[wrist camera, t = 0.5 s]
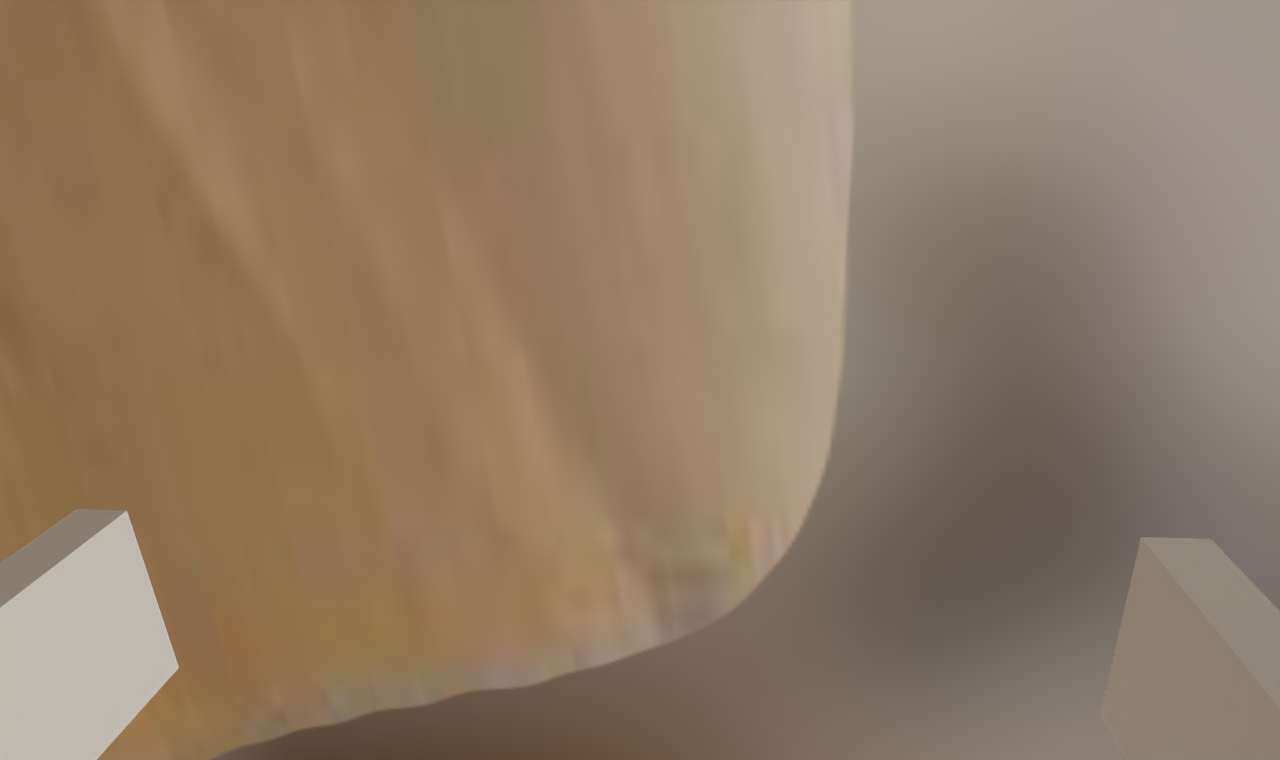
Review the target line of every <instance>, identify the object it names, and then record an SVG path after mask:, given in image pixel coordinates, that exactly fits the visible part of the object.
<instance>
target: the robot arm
mask: <svg viewBox="0 0 1280 760" xmlns="http://www.w3.org/2000/svg"><path fill="white" fill-rule="evenodd" d="M178 668H179V666H178V663H177V660H176V657H175V654H174V651H173V648H172V645H171V642H170V639H169V636H168V633H167V630H166V627H165V624H164V621H163V618H162V615H161V612H160V609H159V606H158V603H157V600H156V597H155V594H154V591H153V588H152V585H151V582H150V579H149V576H148V573H147V570H146V567H145V564H144V561H143V558H142V555H141V552H140V549H139V546H138V543H137V540H136V537H135V534H134V531H133V528H132V525H131V522H130V519H129V516H128V513H127V511H117V510H79V509H76V510H75V511H73V512H72V513H71V514H69V515H68V516H66V517H65V518H63V519H62V520H61V521H59V522H58V523H56V524H55V525H54V526H52V527H51V528H49V529H48V530H46V531H45V532H44V533H42V534H41V535H39V536H38V537H37V538H35V539H34V540H32V541H31V542H29V543H28V544H27V545H25V546H24V547H22V548H21V549H20V550H18V551H17V552H15V553H14V554H12V555H11V556H10V557H8V558H7V559H5V560H4V561H3V562H1V563H0V760H97V759H98V757H99V756H100V755H101V754H102V753H103V752H104V751H105V750H106V749H107V747H108V746H109V745H110V744H111V743H112V742H113V741H114V740H115V738H116V737H117V736H118V735H119V734H120V733H121V732H122V731H123V730H124V728H125V727H126V726H127V725H128V724H129V723H130V722H131V721H132V719H133V718H134V717H135V716H136V715H137V714H138V713H139V712H140V711H141V709H142V708H143V707H144V706H145V705H146V704H147V703H148V702H149V700H150V699H151V698H152V697H153V696H154V695H155V694H156V693H157V692H158V690H159V689H160V688H161V687H162V686H163V685H164V684H165V683H166V681H167V680H168V679H169V678H170V677H171V676H172V675H173V674H174V673H175V671H176V670H177V669H178ZM1100 715H1101V717H1102V719H1103V721H1104V723H1105V724H1106V727H1107V728H1108V730H1109V732H1110V734H1111V736H1112V738H1113V740H1114V742H1115V743H1116V745H1117V747H1118V749H1119V751H1120V753H1121V754H1122V757H1123V758H1124V760H1280V611H1278V609H1277V608H1276V607H1275V606H1274V605H1273V604H1272V603H1271V602H1270V601H1269V600H1268V599H1267V598H1266V597H1265V596H1264V595H1263V594H1262V593H1261V591H1259V589H1258V588H1257V587H1256V586H1255V585H1254V584H1253V583H1252V582H1251V581H1250V580H1249V579H1248V578H1247V577H1246V576H1245V574H1244V573H1243V572H1242V571H1241V570H1240V569H1239V568H1238V567H1237V566H1236V565H1235V564H1234V563H1233V562H1232V561H1231V560H1230V559H1229V558H1228V557H1227V555H1226V554H1224V552H1223V551H1222V550H1221V549H1220V548H1219V547H1218V546H1217V545H1216V544H1215V543H1214V542H1213V541H1212V540H1211V539H1186V538H1149V537H1141V541H1140V545H1139V550H1138V554H1137V558H1136V562H1135V567H1134V571H1133V575H1132V580H1131V584H1130V588H1129V593H1128V597H1127V601H1126V606H1125V610H1124V615H1123V619H1122V623H1121V628H1120V632H1119V636H1118V641H1117V645H1116V649H1115V654H1114V658H1113V662H1112V667H1111V671H1110V675H1109V680H1108V684H1107V688H1106V693H1105V697H1104V701H1103V706H1102V710H1101V714H1100Z"/></svg>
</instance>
